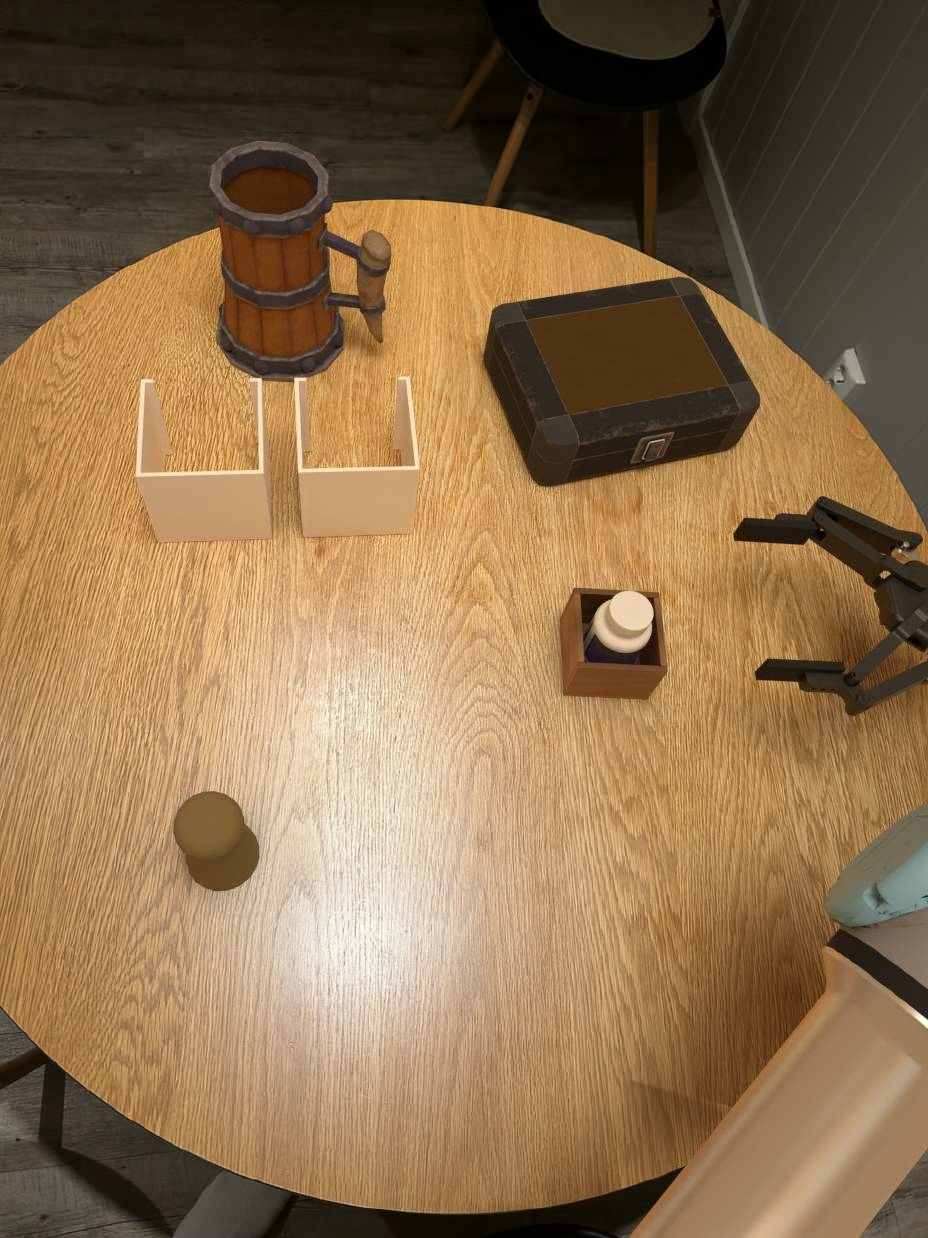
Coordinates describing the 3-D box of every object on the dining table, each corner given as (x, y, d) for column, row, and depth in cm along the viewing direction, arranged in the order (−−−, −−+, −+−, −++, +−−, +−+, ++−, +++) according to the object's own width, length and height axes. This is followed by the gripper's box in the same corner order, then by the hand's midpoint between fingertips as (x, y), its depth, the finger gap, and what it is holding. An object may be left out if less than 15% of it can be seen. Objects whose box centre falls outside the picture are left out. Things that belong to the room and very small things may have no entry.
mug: (402, 315, 109) (413, 162, 91) (368, 408, 102) (373, 263, 84) (241, 273, 109) (221, 113, 91) (196, 363, 102) (166, 209, 85)
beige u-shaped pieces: (157, 542, 92) (135, 476, 82) (161, 451, 97) (140, 379, 87) (412, 533, 95) (419, 469, 86) (403, 446, 100) (409, 376, 91)
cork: (172, 874, 78) (148, 841, 68) (208, 808, 80) (189, 767, 71) (238, 903, 77) (223, 874, 67) (272, 836, 80) (262, 799, 70)
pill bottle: (637, 679, 90) (668, 634, 82) (584, 685, 89) (609, 640, 81) (624, 629, 93) (653, 580, 84) (572, 634, 92) (595, 585, 83)
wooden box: (647, 699, 90) (668, 672, 84) (563, 695, 89) (578, 667, 83) (640, 623, 94) (659, 592, 88) (559, 618, 93) (573, 587, 87)
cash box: (537, 495, 99) (551, 451, 93) (478, 353, 108) (487, 302, 101) (744, 453, 105) (771, 408, 98) (672, 320, 113) (693, 270, 107)
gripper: (993, 759, 80) (753, 750, 78) (927, 513, 91) (716, 500, 89) (1052, 728, 73) (791, 717, 71) (973, 467, 85) (746, 451, 82)
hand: (749, 596), depth 80 cm, fingers open, 13 cm apart
